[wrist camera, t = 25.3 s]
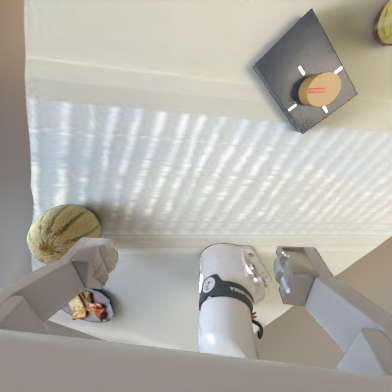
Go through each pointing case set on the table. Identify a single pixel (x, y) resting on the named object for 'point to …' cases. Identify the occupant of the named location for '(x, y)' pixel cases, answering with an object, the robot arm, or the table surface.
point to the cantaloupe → (60, 231)
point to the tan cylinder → (320, 89)
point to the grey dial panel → (302, 71)
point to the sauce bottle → (384, 25)
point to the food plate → (90, 307)
